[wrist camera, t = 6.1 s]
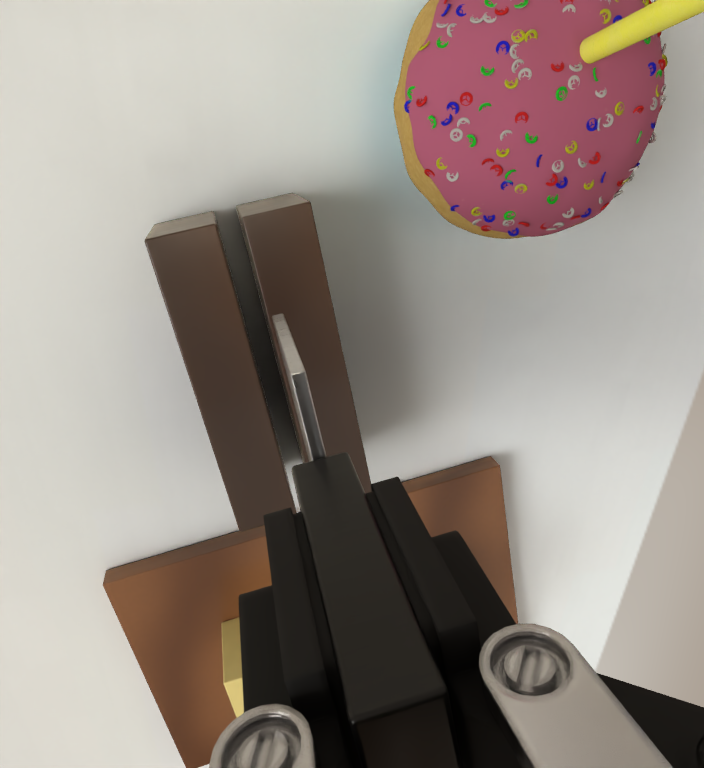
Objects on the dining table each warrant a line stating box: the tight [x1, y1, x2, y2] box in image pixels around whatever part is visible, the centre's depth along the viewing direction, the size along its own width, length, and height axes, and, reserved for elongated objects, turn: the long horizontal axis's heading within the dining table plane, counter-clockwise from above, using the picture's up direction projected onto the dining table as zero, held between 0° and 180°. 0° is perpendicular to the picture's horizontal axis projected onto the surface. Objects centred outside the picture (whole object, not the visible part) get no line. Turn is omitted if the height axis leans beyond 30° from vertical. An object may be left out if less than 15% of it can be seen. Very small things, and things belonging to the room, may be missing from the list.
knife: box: [272, 314, 462, 768], centre depth 12 cm, size 1×7×10 cm, turn 12°
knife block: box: [145, 193, 372, 532], centre depth 23 cm, size 5×11×4 cm, turn 11°
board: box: [103, 456, 518, 768], centre depth 30 cm, size 18×12×1 cm, turn 101°
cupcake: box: [394, 0, 704, 239], centre depth 18 cm, size 9×8×12 cm
